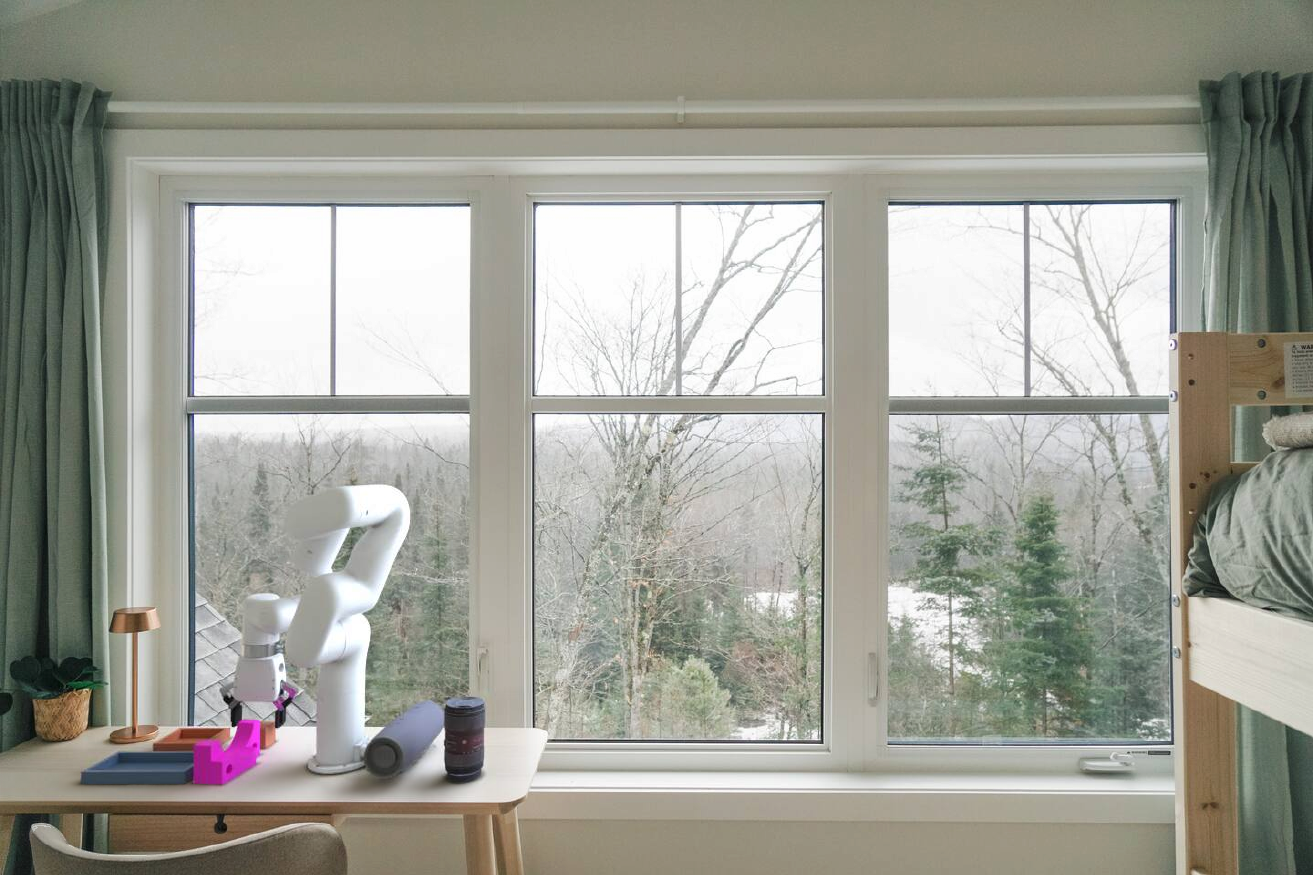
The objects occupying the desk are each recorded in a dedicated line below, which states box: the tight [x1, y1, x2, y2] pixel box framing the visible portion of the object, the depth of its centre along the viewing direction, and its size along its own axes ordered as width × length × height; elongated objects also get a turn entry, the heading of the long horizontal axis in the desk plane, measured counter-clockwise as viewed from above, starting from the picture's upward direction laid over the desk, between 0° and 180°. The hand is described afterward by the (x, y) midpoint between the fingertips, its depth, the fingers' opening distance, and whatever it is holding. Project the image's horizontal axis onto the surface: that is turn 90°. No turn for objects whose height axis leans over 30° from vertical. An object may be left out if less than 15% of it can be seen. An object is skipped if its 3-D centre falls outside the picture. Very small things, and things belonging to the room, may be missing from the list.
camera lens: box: [443, 696, 486, 784], centre depth 157 cm, size 8×8×15 cm
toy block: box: [193, 718, 261, 786], centre depth 160 cm, size 15×6×8 cm, turn 172°
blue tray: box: [80, 750, 194, 785], centre depth 158 cm, size 21×11×2 cm, turn 90°
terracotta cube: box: [260, 720, 277, 750], centre depth 173 cm, size 4×4×4 cm
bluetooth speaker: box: [364, 700, 444, 779], centre depth 164 cm, size 23×9×10 cm, turn 175°
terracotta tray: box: [152, 727, 231, 751], centre depth 173 cm, size 12×10×2 cm
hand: (258, 725), depth 174 cm, fingers open, 9 cm apart
